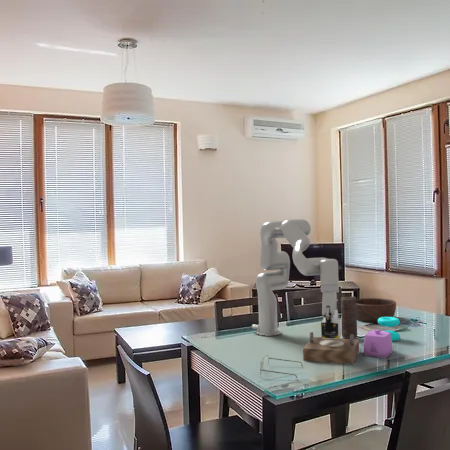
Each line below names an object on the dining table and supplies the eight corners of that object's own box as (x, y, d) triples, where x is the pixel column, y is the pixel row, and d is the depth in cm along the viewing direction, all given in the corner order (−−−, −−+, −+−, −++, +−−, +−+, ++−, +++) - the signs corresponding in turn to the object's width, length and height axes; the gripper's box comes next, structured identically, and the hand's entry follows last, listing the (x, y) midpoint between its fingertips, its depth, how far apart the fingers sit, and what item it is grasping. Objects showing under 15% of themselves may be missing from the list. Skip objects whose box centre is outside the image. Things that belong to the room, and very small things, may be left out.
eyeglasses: (265, 365, 189) (265, 353, 189) (302, 367, 185) (302, 355, 185) (257, 378, 174) (256, 365, 174) (297, 380, 170) (297, 367, 170)
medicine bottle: (321, 338, 197) (320, 310, 197) (324, 334, 204) (323, 307, 204) (338, 339, 194) (337, 310, 194) (341, 335, 201) (340, 307, 201)
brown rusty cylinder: (358, 340, 223) (356, 298, 223) (342, 340, 224) (340, 298, 224) (356, 336, 230) (355, 295, 230) (341, 336, 232) (340, 295, 232)
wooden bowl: (348, 315, 284) (348, 298, 284) (391, 314, 281) (390, 297, 281) (354, 323, 259) (353, 305, 259) (401, 323, 256) (400, 304, 256)
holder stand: (303, 360, 193) (302, 337, 193) (313, 347, 212) (312, 327, 212) (353, 364, 186) (352, 340, 186) (359, 351, 204) (358, 329, 204)
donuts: (396, 321, 216) (374, 319, 222) (397, 342, 216) (375, 340, 222) (402, 317, 224) (381, 315, 230) (402, 338, 224) (381, 335, 230)
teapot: (385, 361, 189) (384, 335, 189) (359, 357, 195) (358, 333, 195) (396, 350, 204) (395, 326, 204) (371, 347, 210) (371, 324, 210)
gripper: (324, 285, 208) (325, 325, 208) (316, 290, 192) (318, 334, 192) (341, 285, 206) (343, 326, 206) (335, 291, 189) (336, 335, 189)
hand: (331, 329), depth 199 cm, fingers closed on medicine bottle, 7 cm apart
